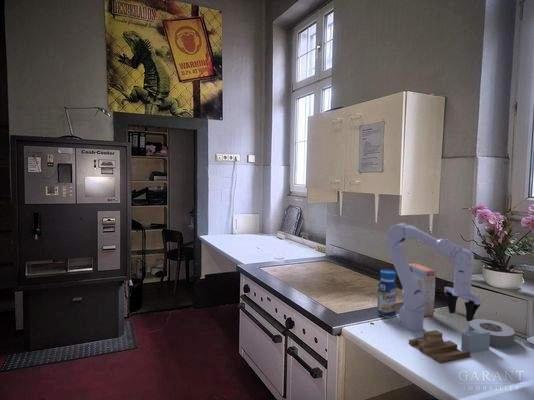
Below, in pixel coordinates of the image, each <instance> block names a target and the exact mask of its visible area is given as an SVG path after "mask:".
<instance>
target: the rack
mask: <svg viewBox="0 0 534 400" xmlns="http://www.w3.org/2000/svg"><path fill="white" fill-rule="evenodd" d="M418 339H423V336H422V337H418V338H412V339H408V345H410V346H412V347H413V348H414V349H416V350H418V351H419V352H421V353H423V354H424V355H425V356H427V357H429V358H430V359H432V360H434V361H435V362H437V363H438V364H441V365H442V364H446V363H447V364H448V363H451V362H454V361H455V362H456V361H460V360H464V359H468V358H472V356H471V353H470V351H468V350H464V351H462V350H461V349H458V344H457V343H455V342H453V341H451V340H445V341H444V340H443V342H439V343H434V344H429V345H424V346H419V345H418Z"/></svg>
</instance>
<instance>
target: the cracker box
mask: <svg viewBox="0 0 534 400" xmlns="http://www.w3.org/2000/svg"><path fill="white" fill-rule="evenodd" d="M408 266H409V268H410V271H411V273H412V276H413V278H414V281H415V283H416V284H417V285H418V286H419V287H420V289H421V291H422V292H423V293H424V294H425V295H426V302H425V304H423V307H424V317H433V316H434V311H435V310H434V309H435V295H436V294H435V293H436V278H437V277H436V274H437V273H436V272H437V271H436V270H434V269H432V268H429V267H428V266H425V265H422V264H420V263H408Z"/></svg>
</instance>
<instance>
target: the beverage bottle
mask: <svg viewBox="0 0 534 400" xmlns="http://www.w3.org/2000/svg"><path fill="white" fill-rule="evenodd" d="M379 278H380V280H379V281H378V284H377V287H378V288H377V308H376V313H377V315H378V316H380V315H382V316H385V317H384V318H389V319H390V318H395V317H396V316H397V296H398V291H397V288H398V285H397V282H396V281H395V280H396V278H397V272H396V270H393V269H392V270H391V269H381V270H380V271H379ZM382 316H381V317H382Z"/></svg>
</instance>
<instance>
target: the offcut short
mask: <svg viewBox="0 0 534 400" xmlns="http://www.w3.org/2000/svg"><path fill="white" fill-rule="evenodd" d="M422 337H423V339H425V340H427V341H428V342H433V341H439V340H442V339H443V332H441V331H439V330H437V329H434V330H429V331H423V336H422Z"/></svg>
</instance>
